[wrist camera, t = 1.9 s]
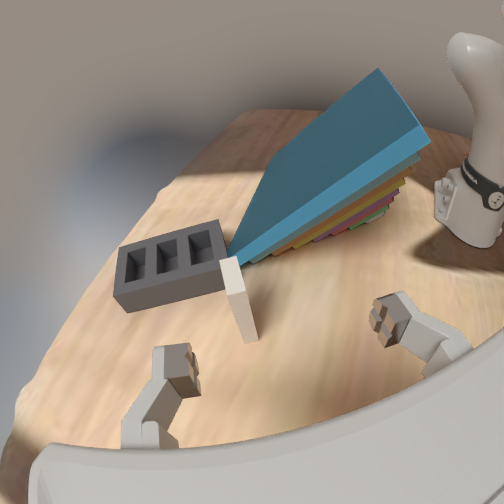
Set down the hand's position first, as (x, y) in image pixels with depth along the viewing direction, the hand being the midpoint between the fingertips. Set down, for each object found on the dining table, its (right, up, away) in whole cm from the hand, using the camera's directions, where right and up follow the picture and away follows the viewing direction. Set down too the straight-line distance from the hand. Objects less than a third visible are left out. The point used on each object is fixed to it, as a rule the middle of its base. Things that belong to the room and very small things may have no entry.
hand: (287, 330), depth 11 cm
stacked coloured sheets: (+11, +11, +42) cm, 45 cm away
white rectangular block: (-2, -7, +27) cm, 28 cm away
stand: (-14, -1, +35) cm, 38 cm away
